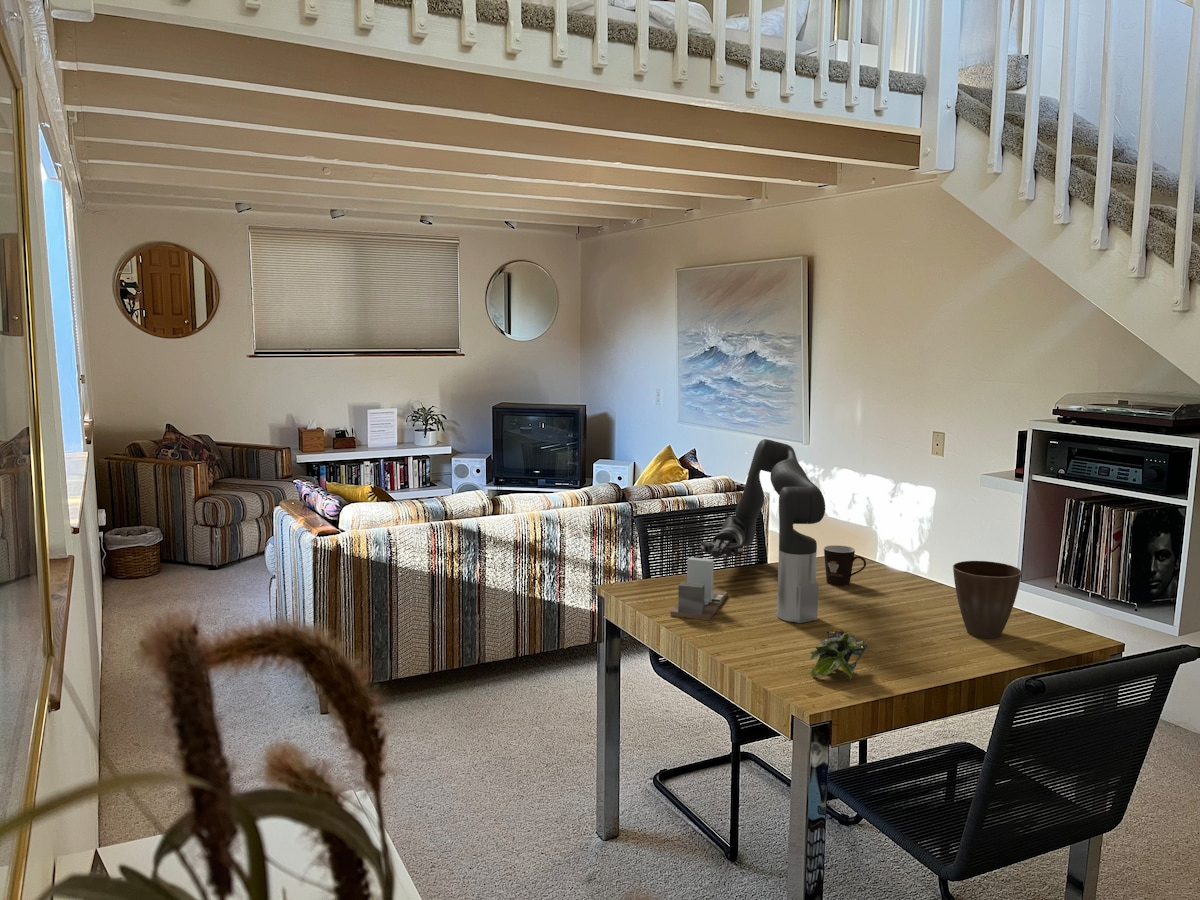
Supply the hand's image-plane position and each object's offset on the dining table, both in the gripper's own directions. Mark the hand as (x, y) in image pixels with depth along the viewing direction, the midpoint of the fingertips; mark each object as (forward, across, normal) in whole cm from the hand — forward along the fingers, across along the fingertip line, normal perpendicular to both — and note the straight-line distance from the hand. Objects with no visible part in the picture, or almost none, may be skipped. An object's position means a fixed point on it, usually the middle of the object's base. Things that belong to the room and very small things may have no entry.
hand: (715, 554), depth 255 cm
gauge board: (+18, 0, +10) cm, 20 cm away
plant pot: (+17, +69, +10) cm, 71 cm away
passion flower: (+55, +38, +11) cm, 68 cm away
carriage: (+20, +1, +8) cm, 22 cm away
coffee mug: (-16, +33, +10) cm, 38 cm away
